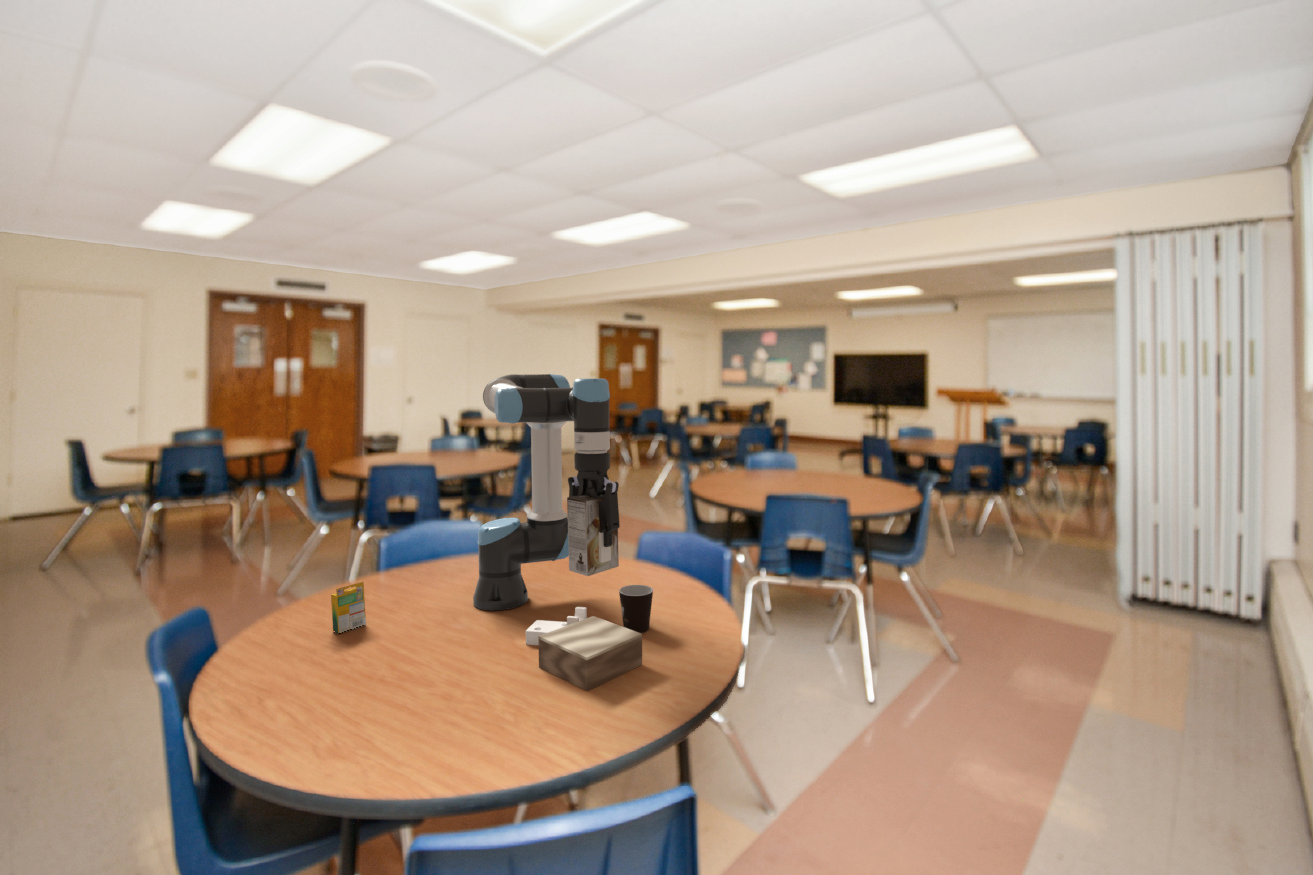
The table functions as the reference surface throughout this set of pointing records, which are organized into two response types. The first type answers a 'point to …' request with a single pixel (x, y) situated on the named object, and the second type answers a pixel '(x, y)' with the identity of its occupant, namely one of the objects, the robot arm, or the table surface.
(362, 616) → the crayon box
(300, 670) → the table surface
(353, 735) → the table surface
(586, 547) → the coffee box
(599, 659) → the riser block
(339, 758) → the table surface
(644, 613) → the coffee mug
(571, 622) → the bracket
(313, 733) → the table surface
